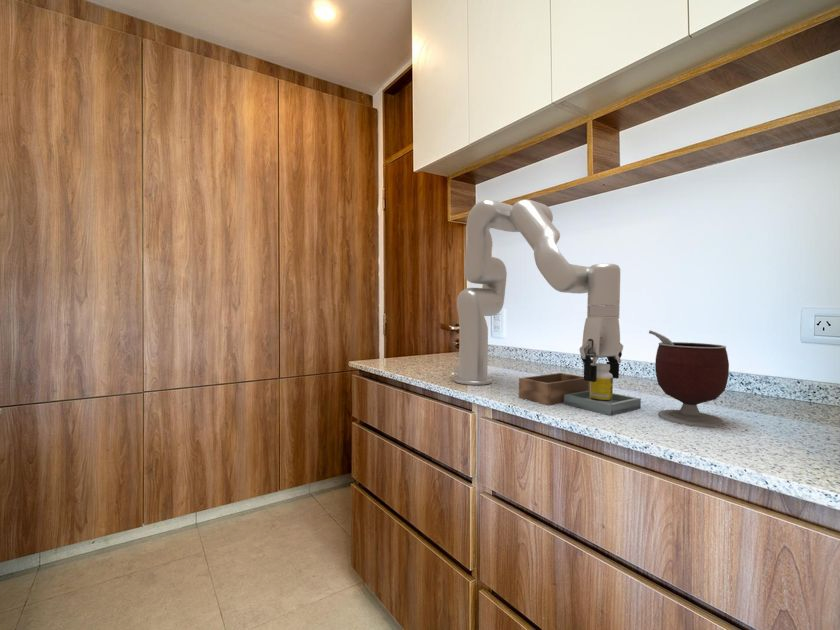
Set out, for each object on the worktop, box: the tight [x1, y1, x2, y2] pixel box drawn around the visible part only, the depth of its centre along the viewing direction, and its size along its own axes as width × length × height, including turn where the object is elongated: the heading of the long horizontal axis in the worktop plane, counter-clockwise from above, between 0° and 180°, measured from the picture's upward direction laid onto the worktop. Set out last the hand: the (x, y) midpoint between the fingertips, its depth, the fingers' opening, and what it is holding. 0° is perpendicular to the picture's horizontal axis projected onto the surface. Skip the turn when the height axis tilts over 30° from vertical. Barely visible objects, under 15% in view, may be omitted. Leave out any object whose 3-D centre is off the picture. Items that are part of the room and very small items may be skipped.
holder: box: [518, 372, 590, 406], centre depth 114 cm, size 10×18×6 cm, turn 123°
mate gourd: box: [648, 329, 730, 428], centre depth 93 cm, size 16×14×20 cm
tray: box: [563, 390, 642, 417], centre depth 104 cm, size 13×13×2 cm
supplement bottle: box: [590, 362, 614, 404], centre depth 104 cm, size 5×5×10 cm
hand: (601, 379), depth 104 cm, fingers open, 9 cm apart
